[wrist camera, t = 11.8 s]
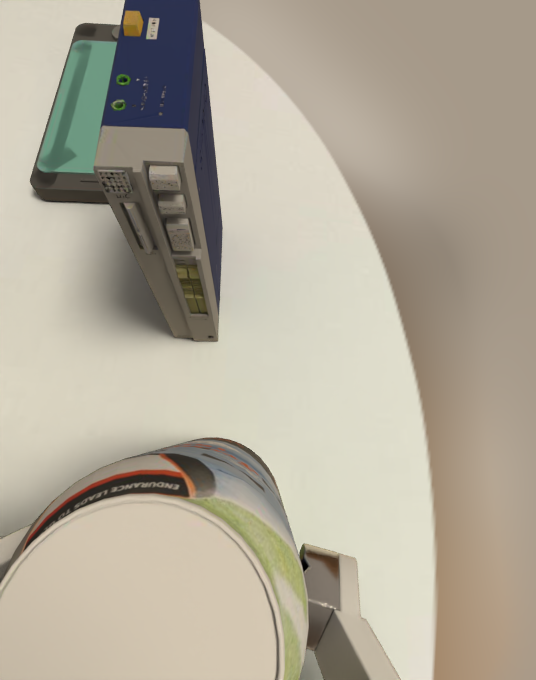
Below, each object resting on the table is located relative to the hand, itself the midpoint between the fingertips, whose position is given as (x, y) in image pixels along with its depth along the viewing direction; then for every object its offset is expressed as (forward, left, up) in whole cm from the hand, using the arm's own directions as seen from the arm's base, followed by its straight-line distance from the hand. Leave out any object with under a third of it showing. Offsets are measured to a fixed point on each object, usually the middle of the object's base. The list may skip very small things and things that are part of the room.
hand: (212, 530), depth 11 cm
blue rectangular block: (-11, +5, -7) cm, 14 cm away
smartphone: (-25, +7, -7) cm, 27 cm away
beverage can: (0, -1, -7) cm, 7 cm away
